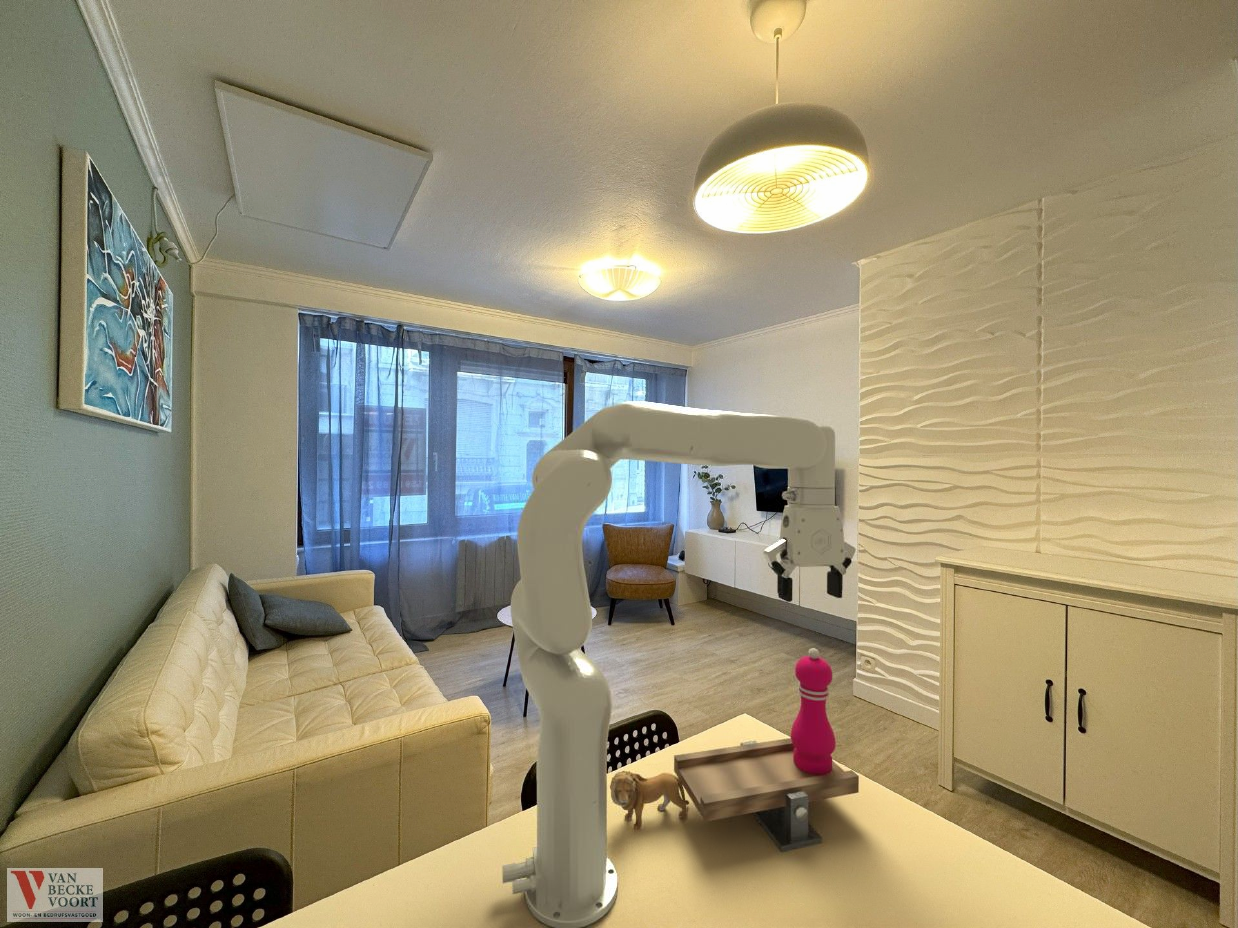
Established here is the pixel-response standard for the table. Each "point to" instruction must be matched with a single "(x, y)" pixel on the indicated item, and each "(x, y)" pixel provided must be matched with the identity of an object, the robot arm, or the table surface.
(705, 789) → the balance beam
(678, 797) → the lion figurine
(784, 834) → the beam stand
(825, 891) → the table surface
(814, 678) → the pepper mill
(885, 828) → the table surface
